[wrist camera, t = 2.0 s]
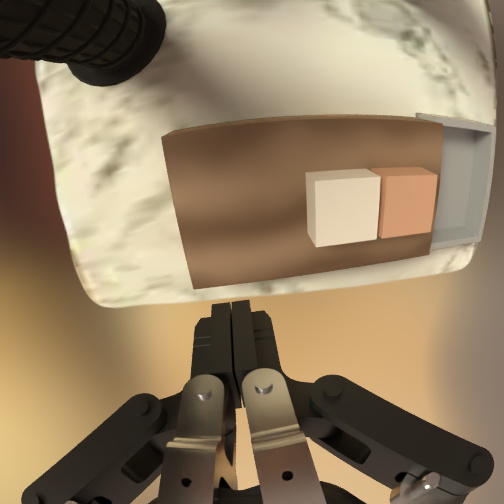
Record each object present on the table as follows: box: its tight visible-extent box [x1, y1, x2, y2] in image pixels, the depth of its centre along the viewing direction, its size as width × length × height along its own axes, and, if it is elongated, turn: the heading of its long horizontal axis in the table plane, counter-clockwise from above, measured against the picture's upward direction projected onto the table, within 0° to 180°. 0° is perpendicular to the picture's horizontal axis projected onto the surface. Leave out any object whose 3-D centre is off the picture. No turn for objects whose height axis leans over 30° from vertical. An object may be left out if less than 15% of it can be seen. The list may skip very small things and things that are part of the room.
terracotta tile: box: [371, 167, 438, 239], centre depth 21 cm, size 5×5×2 cm
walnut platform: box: [161, 115, 443, 289], centre depth 25 cm, size 13×23×5 cm, turn 96°
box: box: [416, 113, 496, 250], centre depth 26 cm, size 14×10×4 cm
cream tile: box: [305, 169, 381, 247], centre depth 21 cm, size 5×5×2 cm
